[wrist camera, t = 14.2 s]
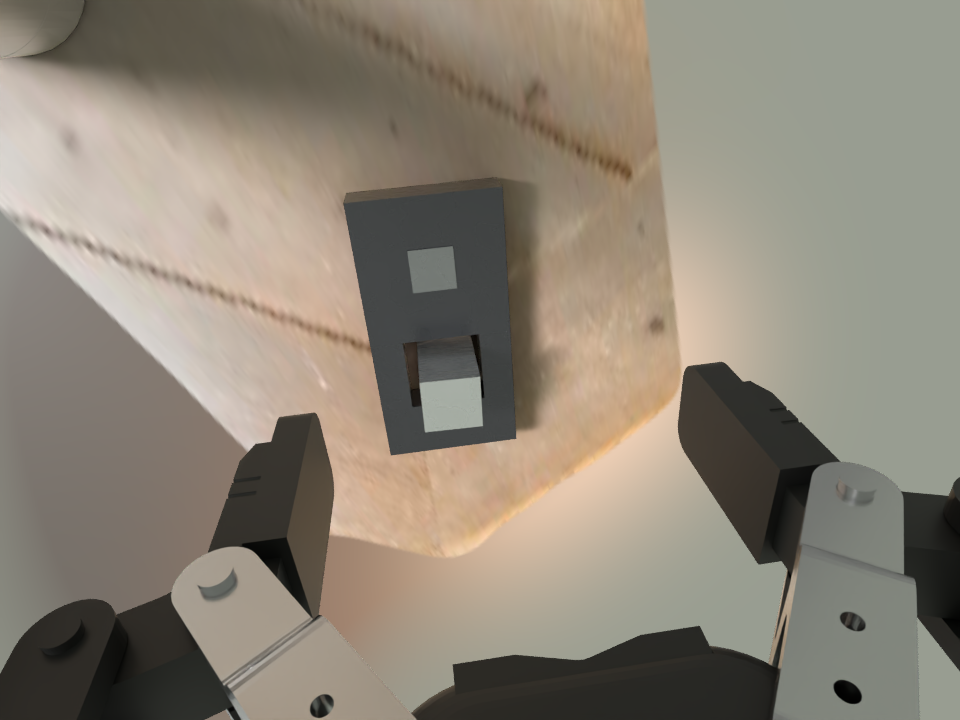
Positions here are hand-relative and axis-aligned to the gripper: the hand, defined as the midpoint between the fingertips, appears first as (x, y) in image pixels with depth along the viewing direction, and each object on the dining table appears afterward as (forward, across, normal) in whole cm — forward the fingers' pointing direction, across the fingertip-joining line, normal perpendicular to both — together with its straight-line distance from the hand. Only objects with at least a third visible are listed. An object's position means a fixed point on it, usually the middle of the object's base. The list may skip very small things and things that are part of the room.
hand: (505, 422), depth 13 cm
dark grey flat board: (+30, +1, +12) cm, 32 cm away
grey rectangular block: (+30, +1, +15) cm, 34 cm away
